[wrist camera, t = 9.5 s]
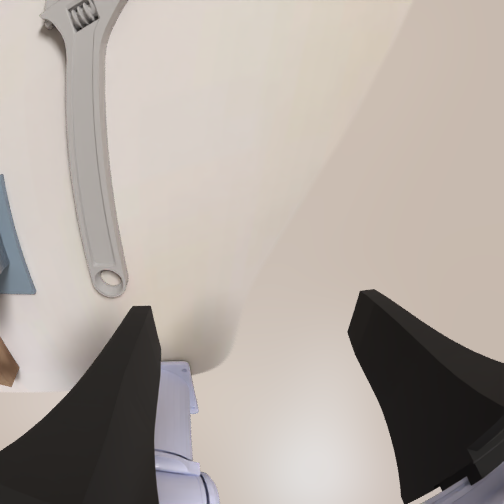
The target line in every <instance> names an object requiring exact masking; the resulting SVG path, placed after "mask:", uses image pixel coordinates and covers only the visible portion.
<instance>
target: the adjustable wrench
mask: <svg viewBox="0 0 504 504" xmlns="http://www.w3.org/2000/svg"><path fill="white" fill-rule="evenodd" d="M127 1H128V0H46V1H45V11H44V12H43V13H42V14H40V15H39V16H40V17H41V18H42V19H44V20H46V21H45V26H46V28H48V29H51V28H53V27H54V26H55V27H56V28H57V29H58V31H59V32H60V33H61V35H62V37H63V39H64V42H65V47H66V59H67V64H66V124H67V140H68V153H69V163H70V172H71V180H72V187H73V194H74V200H75V207H76V212H77V218H78V223H79V228H80V233H81V238H82V243H83V247H84V251H85V256H86V260H87V264H88V268H89V272H90V276H91V279H92V283H93V285H94V287H95V289H96V290H97V291H98V292H99V293H101V294H102V295H104V296H107V297H118V296H120V295H122V294H123V292H124V291H125V288H126V285H127V282H128V271H127V267H126V262H125V257H124V253H123V248H122V242H121V237H120V232H119V226H118V220H117V214H116V208H115V201H114V194H113V187H112V179H111V171H110V162H109V151H108V140H107V125H106V104H105V55H106V47H107V43H108V39H109V36H110V34H111V31H112V29H113V27H114V25H115V23H116V21H117V19H118V17H119V15H120V13H121V11H122V9H123V8H124V6H125V4H126V3H127ZM98 18H99V19H98ZM92 21H93V23H92ZM87 25H88V26H87ZM80 27H81V28H82V29H81V30H80V29H79V28H80ZM102 270H111V271H113V272H115V273H117V274H118V275H119V276H120V277H121V279H122V280H121V283H120V284H119V285H109V284H107V283H106V282H104V281H103V279H102V278H101V272H102Z"/></svg>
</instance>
